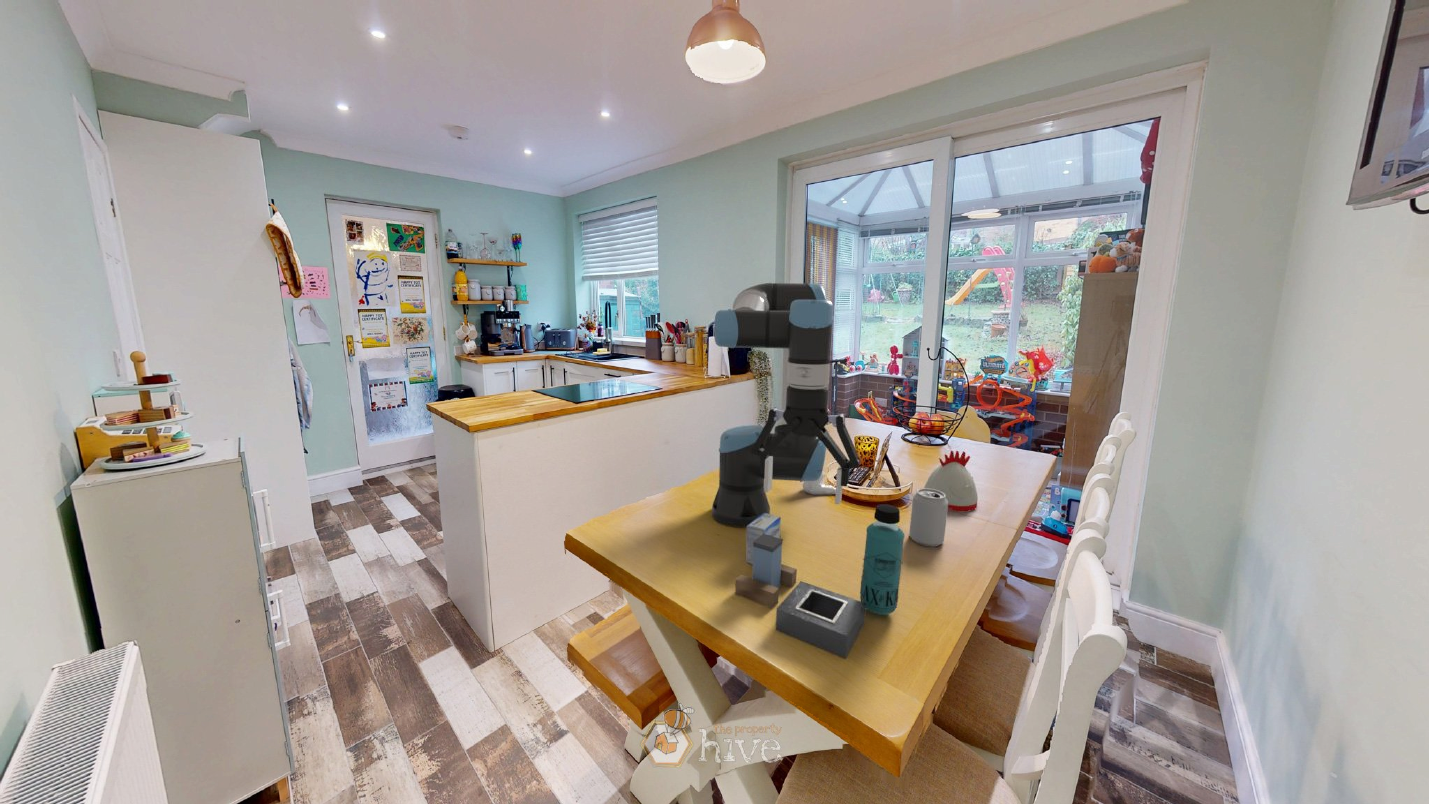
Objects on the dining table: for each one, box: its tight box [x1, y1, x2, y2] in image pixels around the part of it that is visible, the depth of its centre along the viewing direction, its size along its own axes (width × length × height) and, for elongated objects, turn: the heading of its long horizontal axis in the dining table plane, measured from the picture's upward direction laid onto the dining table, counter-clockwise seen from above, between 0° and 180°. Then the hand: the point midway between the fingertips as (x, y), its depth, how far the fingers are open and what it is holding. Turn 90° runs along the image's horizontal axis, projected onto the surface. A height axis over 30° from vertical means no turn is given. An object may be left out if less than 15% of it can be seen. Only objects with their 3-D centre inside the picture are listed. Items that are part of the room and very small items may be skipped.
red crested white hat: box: [924, 450, 979, 512], centre depth 134 cm, size 14×14×15 cm
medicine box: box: [745, 513, 782, 565], centre depth 103 cm, size 8×4×9 cm, turn 148°
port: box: [775, 580, 867, 659], centre depth 81 cm, size 12×10×4 cm
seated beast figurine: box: [802, 469, 836, 496], centre depth 141 cm, size 10×9×12 cm
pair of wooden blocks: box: [734, 563, 798, 609], centre depth 92 cm, size 8×10×3 cm
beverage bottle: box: [859, 503, 905, 615], centre depth 84 cm, size 6×7×20 cm
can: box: [909, 488, 949, 547], centre depth 112 cm, size 8×8×12 cm
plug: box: [752, 534, 783, 589], centre depth 92 cm, size 4×4×10 cm
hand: (802, 495), depth 91 cm, fingers open, 13 cm apart
